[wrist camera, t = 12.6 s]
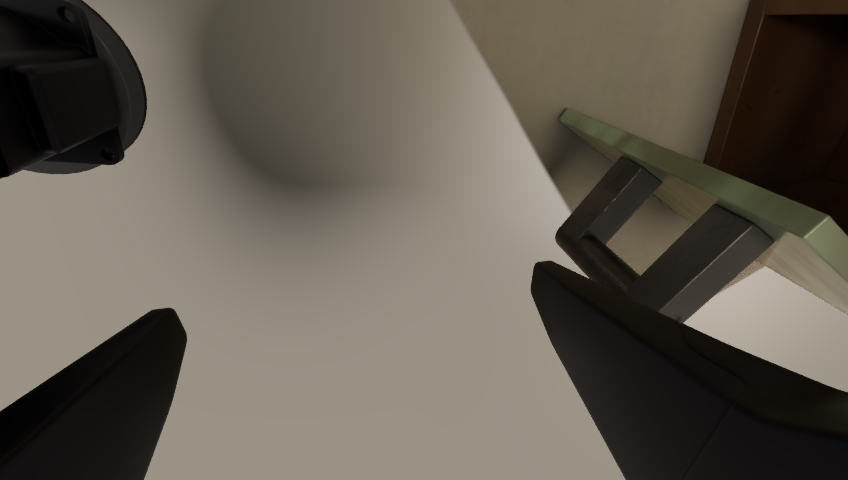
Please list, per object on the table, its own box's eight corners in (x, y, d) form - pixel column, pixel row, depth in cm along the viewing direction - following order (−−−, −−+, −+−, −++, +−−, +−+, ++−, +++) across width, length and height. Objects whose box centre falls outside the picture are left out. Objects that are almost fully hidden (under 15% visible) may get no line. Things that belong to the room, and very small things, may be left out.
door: (626, 269, 29) (815, 440, 17) (501, 193, 23) (652, 367, 12) (688, 206, 26) (953, 352, 15) (567, 107, 21) (830, 214, 10)
